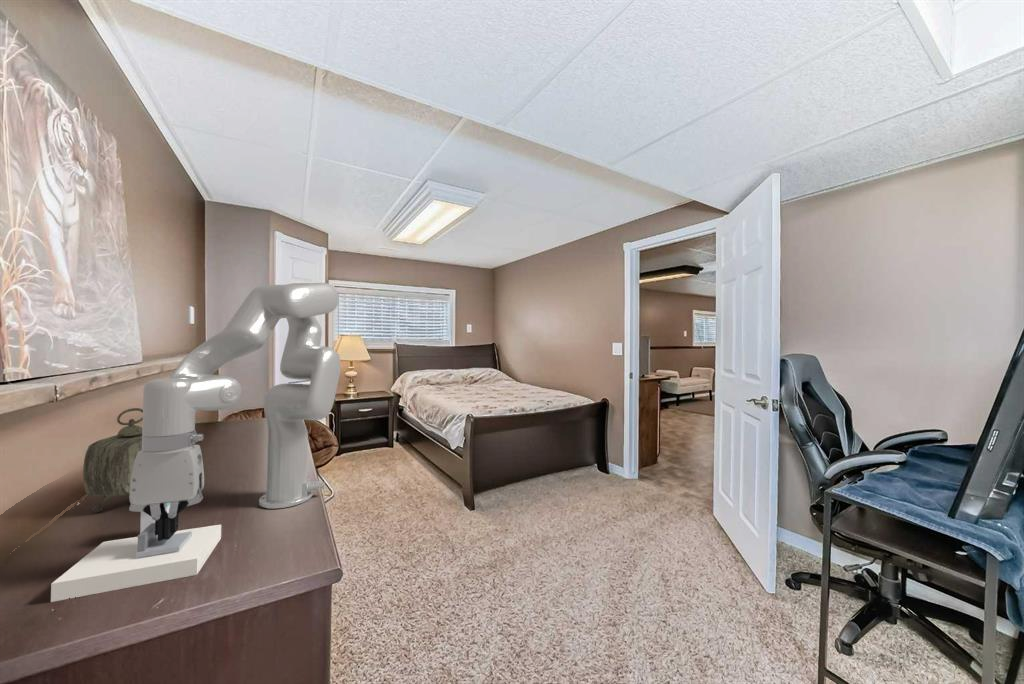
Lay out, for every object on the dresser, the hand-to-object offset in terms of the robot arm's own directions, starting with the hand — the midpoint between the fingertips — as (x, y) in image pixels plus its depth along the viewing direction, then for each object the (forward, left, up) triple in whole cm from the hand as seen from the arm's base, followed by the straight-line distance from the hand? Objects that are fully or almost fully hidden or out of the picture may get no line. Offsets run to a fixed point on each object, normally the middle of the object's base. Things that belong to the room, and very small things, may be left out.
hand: (166, 536), depth 72 cm
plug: (+6, -13, -5) cm, 15 cm away
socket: (+3, 0, -5) cm, 6 cm away
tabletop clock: (+20, -37, -5) cm, 43 cm away
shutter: (0, 0, -2) cm, 2 cm away
